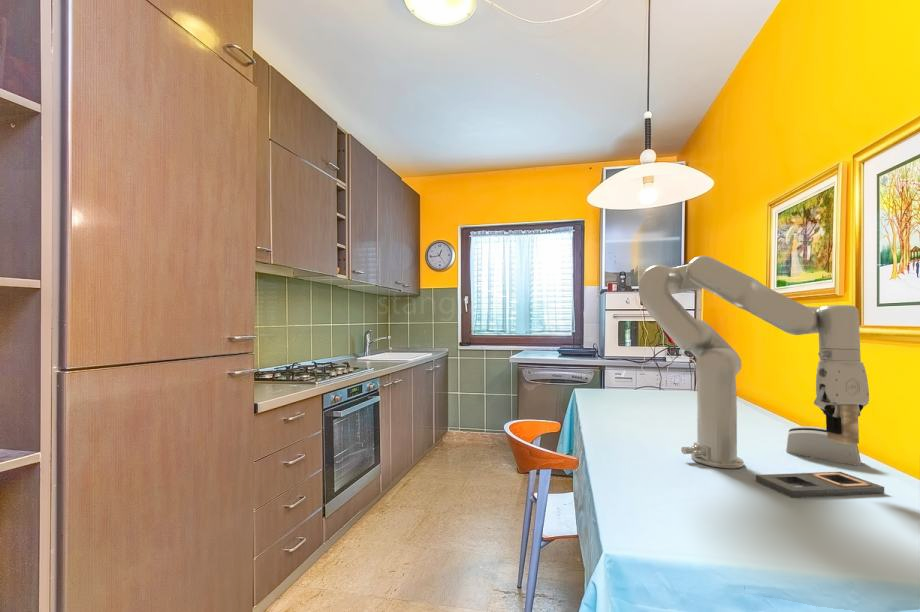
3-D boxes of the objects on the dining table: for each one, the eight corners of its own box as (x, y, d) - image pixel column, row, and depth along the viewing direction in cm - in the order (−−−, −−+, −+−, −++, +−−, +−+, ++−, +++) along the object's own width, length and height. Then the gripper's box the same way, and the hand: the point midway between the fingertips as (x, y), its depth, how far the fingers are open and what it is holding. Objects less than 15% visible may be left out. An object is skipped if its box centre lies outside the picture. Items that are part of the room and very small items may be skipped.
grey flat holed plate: (792, 497, 96) (792, 490, 97) (755, 481, 106) (755, 474, 106) (884, 493, 100) (884, 486, 100) (840, 477, 110) (840, 470, 110)
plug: (844, 444, 101) (843, 405, 102) (827, 439, 105) (826, 402, 106) (858, 443, 102) (857, 404, 102) (841, 438, 106) (840, 401, 106)
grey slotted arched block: (861, 461, 123) (860, 430, 121) (860, 471, 119) (860, 439, 117) (787, 448, 134) (786, 420, 132) (785, 457, 131) (783, 427, 129)
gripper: (824, 357, 100) (827, 438, 99) (886, 356, 102) (889, 435, 101) (795, 355, 107) (797, 430, 106) (853, 354, 110) (856, 427, 109)
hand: (842, 431), depth 104 cm, fingers closed on plug, 3 cm apart
